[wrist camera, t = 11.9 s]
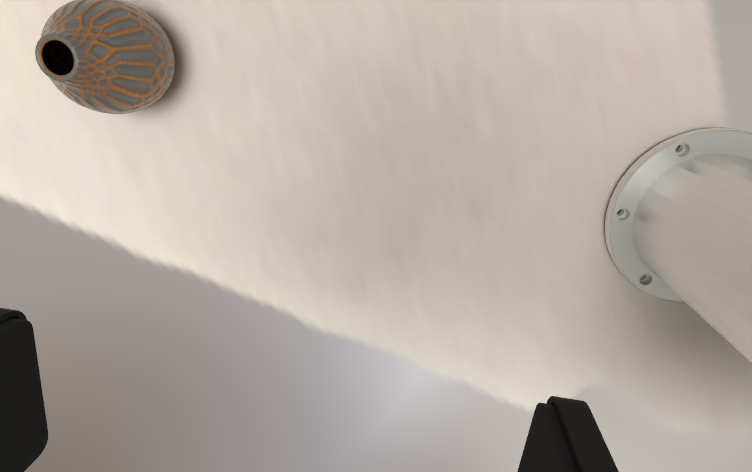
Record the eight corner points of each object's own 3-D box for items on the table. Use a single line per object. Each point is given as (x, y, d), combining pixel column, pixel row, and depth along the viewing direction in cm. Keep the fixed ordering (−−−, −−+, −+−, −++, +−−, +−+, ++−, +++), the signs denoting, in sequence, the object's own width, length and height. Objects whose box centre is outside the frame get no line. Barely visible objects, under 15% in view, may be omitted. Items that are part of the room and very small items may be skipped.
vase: (124, -21, 33) (27, -46, 25) (208, 51, 34) (142, 50, 26) (76, 62, 35) (-28, 64, 27) (157, 127, 36) (81, 149, 28)
